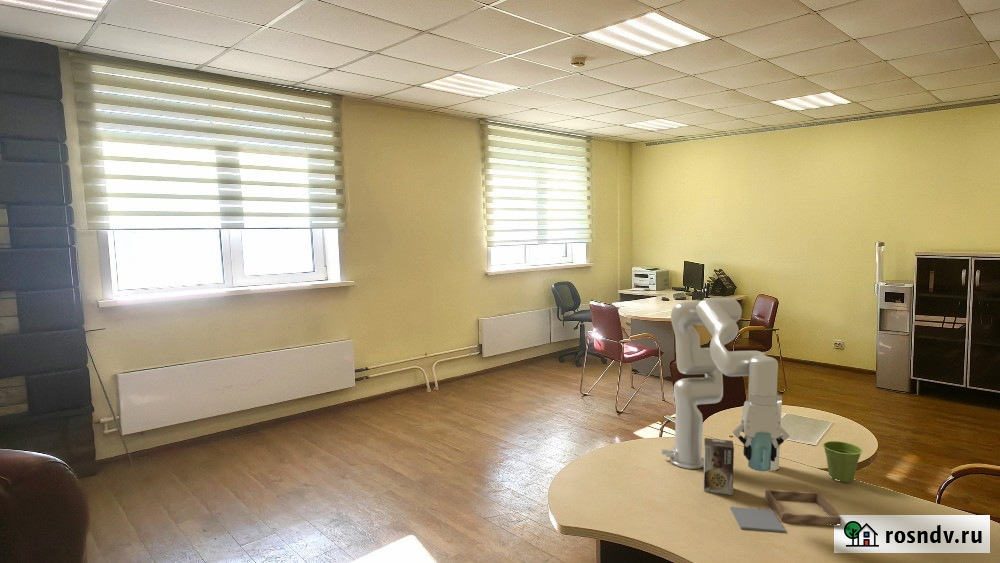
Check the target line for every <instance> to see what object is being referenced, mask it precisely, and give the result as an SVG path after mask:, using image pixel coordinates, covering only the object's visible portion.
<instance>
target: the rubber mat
mask: <svg viewBox="0 0 1000 563" xmlns="http://www.w3.org/2000/svg"><path fill="white" fill-rule="evenodd" d="M730 510H731V513H732V514H733V516H734V518H735V520H736V522H737V525H738V526H739V528H740V529H741V530H747V531H748V530H749V531H762V532H775V533H776V532H777V533H786V529H785V528H784V526H783V524H782V522H780V521H781V520H780V519H779V517H778V516H776V515H777V514H776V513H775V511H774V510H773V509H768V508H767V509H764V508H756V507H755V508H751V507H738V506H730Z"/></svg>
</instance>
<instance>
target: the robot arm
mask: <svg viewBox="0 0 1000 563" xmlns="http://www.w3.org/2000/svg"><path fill="white" fill-rule="evenodd" d="M670 312H671V313H670V320H671V321H670V322H671V325H672V329H673V332H674V335H675V336H674V337H675V353H676V354H675V356H676V367H677V370H678V372H679V373H681V374H683V375H704V377H687V378H681V379H678V380H677V381H675V383H674V385H673V396H674V404H675V419H674V420H675V422H674V425H675V427H674V429H675V430H674V432H675V433H674V446H672V448H670V449H665V448H664V449H662V448H661V455H662V456H663V455H664V456H665V457H667V458H668V457H669V461H670V462H671V464H673V465H674V466H677V467H680V468H683V469H689V470H690V469H691V470H696V469H703V468H704V456H702V454H703V452H702V450H703V430H704V429H703V425H704V424H703V421H704V418H703V414H702V412H701V411H700V409H699V408H698V405H708V404H717V403H721V401H722V399H723V397H724V379H723V378H724V377H723V375H724V376H726V377H748V388H747V390H748V392H747V400H745V401H744V403H743V408H742V412H741V421H740V424H739V425H737V427H735V429H733V430H732V434H733V435H734V436H735V437H736V438H737V439H738V440H739V441H740V443H742V445H743V453H742V454H743V456H744V457H745V458H746V459H747V461H748V460H750V459H751V447H750V443H751V440H752V438H754V437H755V433H766V434H771V439H772V450H771V461H775V458H776V456H777V448H778V447H779V445H780V446H781V444H783V443H784V441H787V439H788V438H789V437H790V434H788V432H787V431H786V430H785V429H784V428H783V427H782V419H781V420H780V411H779V406H778V404H777V401H779V400H781V401H782V400H783V397H782V395H779V394H778V373H779V372H778V371H779V368H778V367H779V363H778V360H777V359H776V358H774V357H771V356H768V355H767V354H765V353H763V352H761V351H759V350H734V351H733V350H732V351H731V350H728V349H727V348H726V347H725V345H727V344H729V343H730V342H732V341H733V340H735V338H736V337H737V336H738V334H739V326H738V324H737V323H736V322H738V321H739V320H740V319H741V318H742V314H743V313H742V312H743V308H742V306H741V304H740V303H739V302H738V301H737V300H736V299H734V298H733V297H710V298H704V299H702V300H701V301H683V302H679V303H677V304H675V305H674V306H673V308H672V310H671V311H670ZM694 326H704V327H705V328H706V330H707V331H708V333H709V335H711V339H710V342H709V347H701V340H700V339H701V338H700V334H699V332H698V331H697V330H696V328H695V327H694ZM741 432H742V433H743V434H744V437H743V435H742V434H740V433H741Z"/></svg>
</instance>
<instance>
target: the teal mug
mask: <svg viewBox="0 0 1000 563" xmlns="http://www.w3.org/2000/svg"><path fill="white" fill-rule="evenodd" d="M750 447H751V459H750V460H747V461H748V466H747V467H749V468H750V469H751V470H753V471H758V472H770V471H769V470H771V450H772V439H771V434H766V433H755V437H754V438H752V440H751V443H750Z"/></svg>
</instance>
